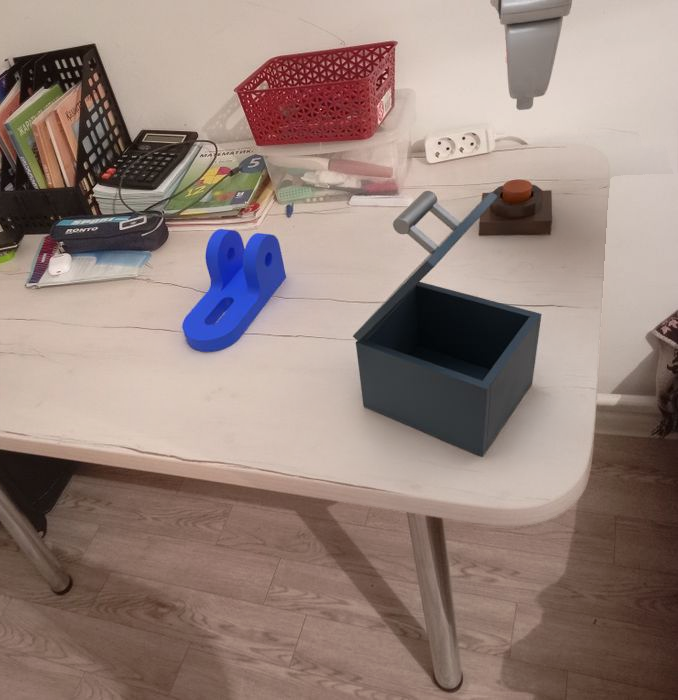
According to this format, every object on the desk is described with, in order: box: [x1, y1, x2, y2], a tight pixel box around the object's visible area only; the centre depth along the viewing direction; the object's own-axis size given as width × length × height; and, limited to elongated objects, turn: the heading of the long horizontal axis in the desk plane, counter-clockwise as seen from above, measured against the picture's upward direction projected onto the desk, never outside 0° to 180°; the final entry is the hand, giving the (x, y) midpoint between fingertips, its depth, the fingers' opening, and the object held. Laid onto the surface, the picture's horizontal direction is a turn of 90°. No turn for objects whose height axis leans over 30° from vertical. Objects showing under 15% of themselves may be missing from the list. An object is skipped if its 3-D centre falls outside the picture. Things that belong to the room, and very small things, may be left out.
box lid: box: [352, 190, 497, 342], centre depth 60 cm, size 14×12×5 cm
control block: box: [478, 184, 553, 236], centre depth 87 cm, size 9×8×4 cm
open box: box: [355, 281, 542, 458], centre depth 65 cm, size 14×12×10 cm
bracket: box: [181, 228, 287, 353], centre depth 86 cm, size 18×8×9 cm, turn 147°
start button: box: [502, 179, 533, 203], centre depth 86 cm, size 4×4×2 cm
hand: (524, 104), depth 76 cm, fingers closed
